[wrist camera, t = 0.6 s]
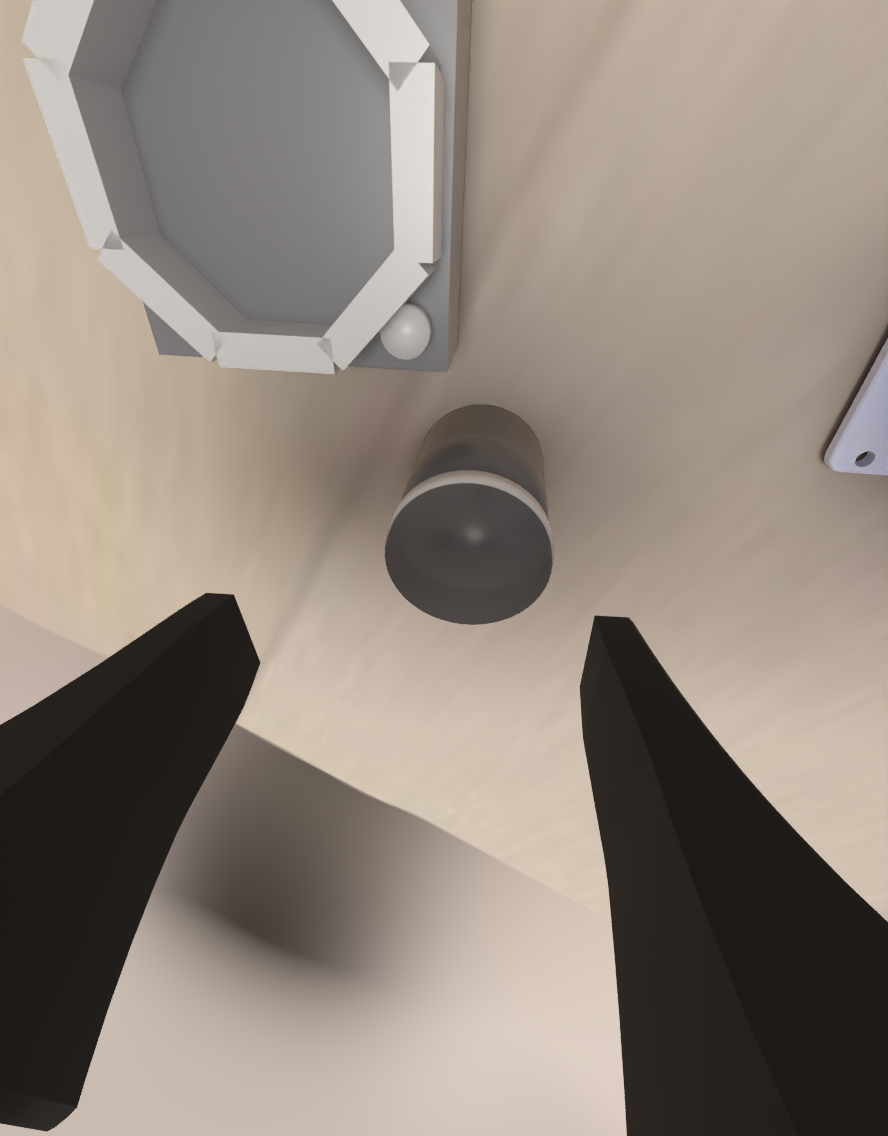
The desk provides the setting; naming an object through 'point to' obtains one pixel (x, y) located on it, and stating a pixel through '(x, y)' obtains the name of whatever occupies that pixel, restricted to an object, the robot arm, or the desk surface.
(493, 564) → the lens
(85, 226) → the mount
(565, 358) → the desk surface
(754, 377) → the desk surface
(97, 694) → the robot arm
